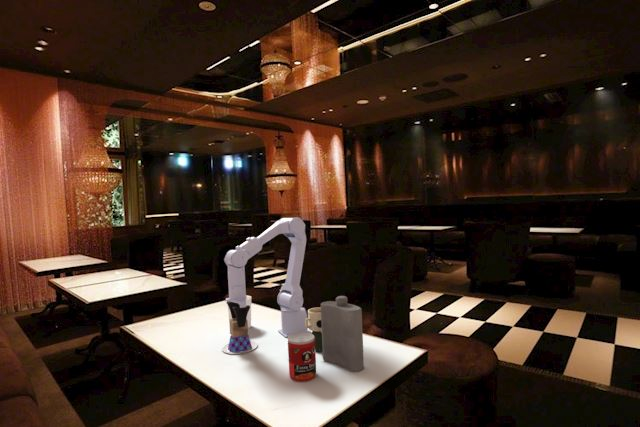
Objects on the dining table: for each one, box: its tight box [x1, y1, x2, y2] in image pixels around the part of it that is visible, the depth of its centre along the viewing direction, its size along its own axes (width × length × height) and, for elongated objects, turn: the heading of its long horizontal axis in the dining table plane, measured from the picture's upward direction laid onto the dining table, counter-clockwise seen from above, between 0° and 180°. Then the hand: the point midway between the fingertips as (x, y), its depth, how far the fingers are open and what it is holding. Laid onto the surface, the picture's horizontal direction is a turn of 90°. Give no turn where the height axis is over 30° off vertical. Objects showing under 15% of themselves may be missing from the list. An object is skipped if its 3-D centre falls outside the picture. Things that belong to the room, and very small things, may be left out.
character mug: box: [305, 306, 323, 351], centre depth 121 cm, size 11×7×13 cm, turn 128°
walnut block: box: [228, 318, 249, 337], centre depth 125 cm, size 5×5×5 cm
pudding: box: [221, 334, 258, 355], centre depth 125 cm, size 12×12×5 cm
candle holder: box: [227, 294, 253, 329], centre depth 147 cm, size 10×10×12 cm
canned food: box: [287, 332, 317, 383], centre depth 102 cm, size 8×8×11 cm
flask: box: [320, 295, 365, 373], centre depth 109 cm, size 15×6×20 cm, turn 44°
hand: (238, 323), depth 125 cm, fingers open, 7 cm apart
